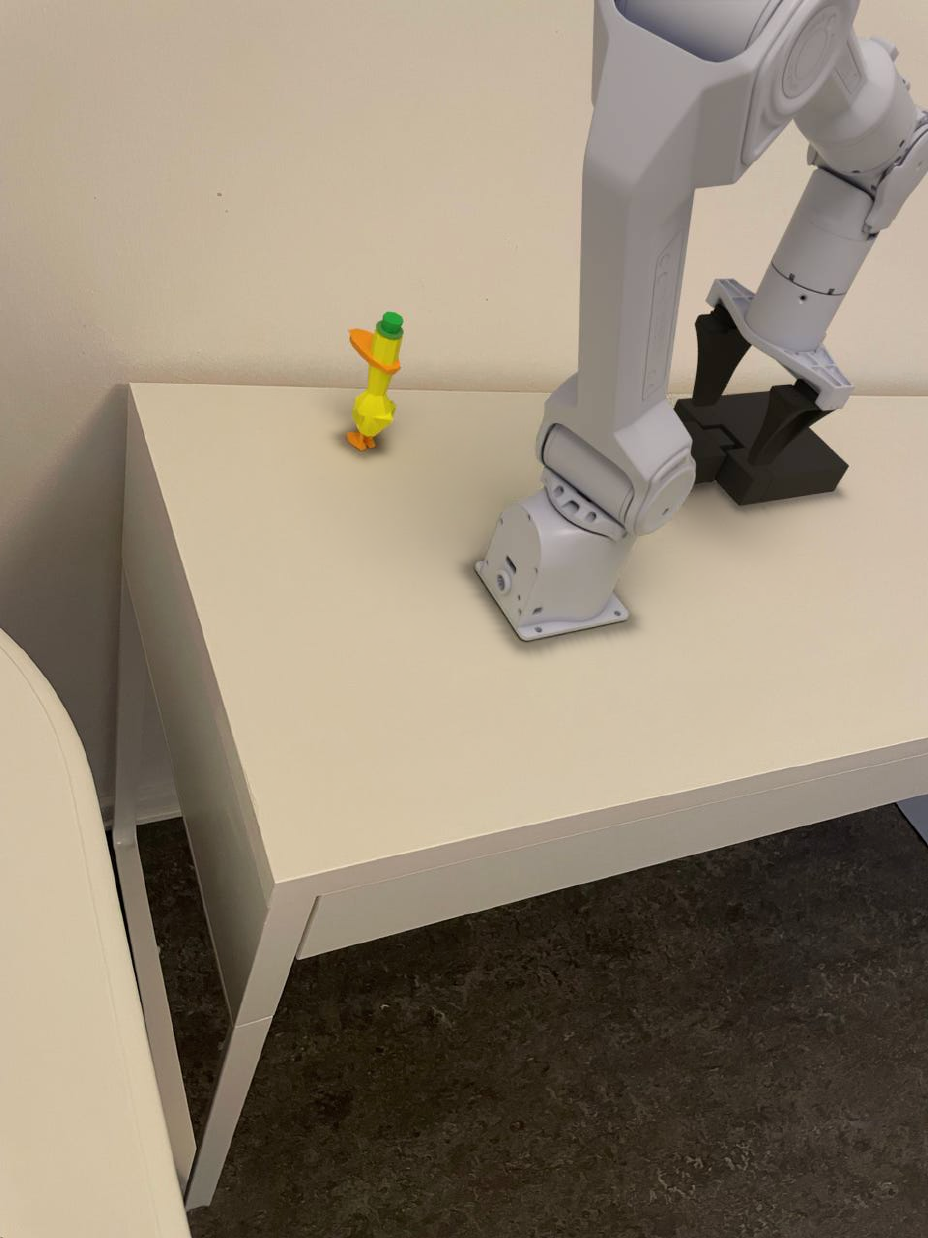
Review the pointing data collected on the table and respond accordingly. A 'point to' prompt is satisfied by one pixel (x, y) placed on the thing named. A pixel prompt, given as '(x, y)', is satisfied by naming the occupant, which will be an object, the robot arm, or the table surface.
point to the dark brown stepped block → (707, 450)
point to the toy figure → (376, 378)
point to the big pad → (788, 475)
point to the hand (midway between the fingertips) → (730, 432)
